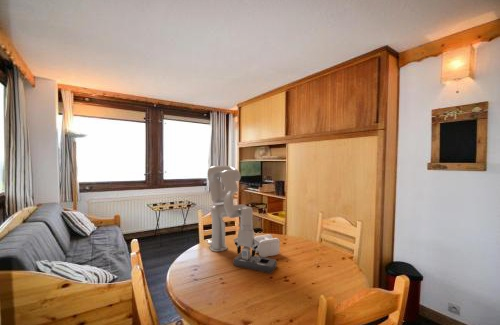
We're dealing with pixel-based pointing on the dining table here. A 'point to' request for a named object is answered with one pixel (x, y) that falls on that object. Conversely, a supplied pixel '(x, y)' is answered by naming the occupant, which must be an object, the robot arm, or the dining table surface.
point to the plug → (246, 253)
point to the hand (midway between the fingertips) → (246, 254)
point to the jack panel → (256, 263)
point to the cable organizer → (267, 245)
